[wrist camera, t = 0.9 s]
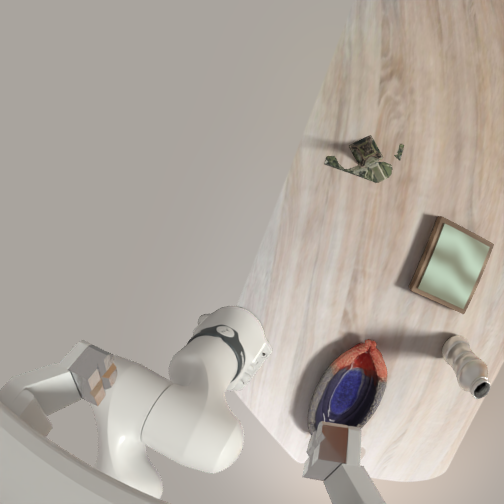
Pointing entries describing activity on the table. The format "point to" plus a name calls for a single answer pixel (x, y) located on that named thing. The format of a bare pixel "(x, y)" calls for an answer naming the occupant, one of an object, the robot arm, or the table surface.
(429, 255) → the walnut stand
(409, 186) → the table surface
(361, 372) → the dish
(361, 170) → the eiffel tower figurine
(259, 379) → the table surface
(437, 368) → the table surface
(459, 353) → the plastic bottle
